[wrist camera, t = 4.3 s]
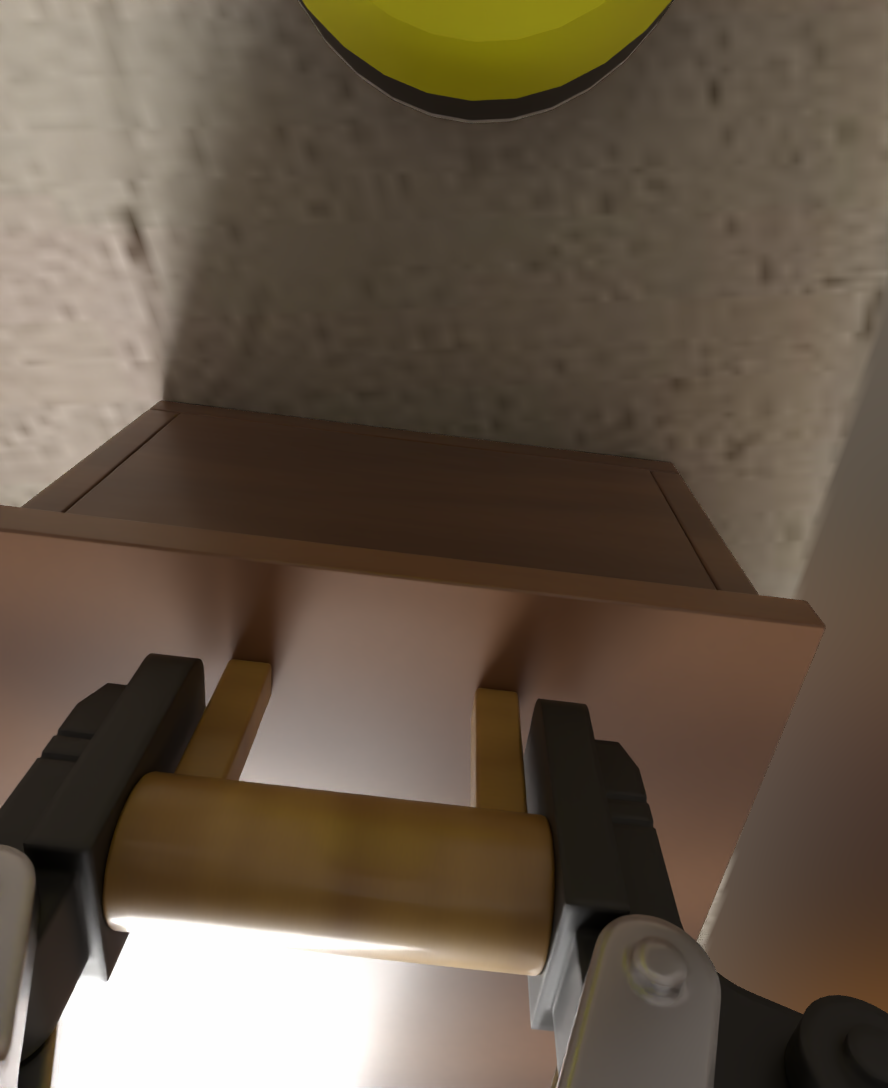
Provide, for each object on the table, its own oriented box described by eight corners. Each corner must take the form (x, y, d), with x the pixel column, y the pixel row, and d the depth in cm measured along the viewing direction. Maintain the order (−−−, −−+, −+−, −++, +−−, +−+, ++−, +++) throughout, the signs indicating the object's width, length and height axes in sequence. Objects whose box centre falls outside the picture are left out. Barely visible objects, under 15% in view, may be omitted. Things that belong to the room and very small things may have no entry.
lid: (-39, 499, 12) (-367, 714, 7) (806, 599, 12) (1012, 869, 8) (74, 1081, 19) (-53, 1370, 15) (597, 1135, 20) (635, 1436, 15)
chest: (160, 399, 20) (-30, 542, 12) (673, 462, 20) (790, 639, 13) (185, 825, 27) (74, 1078, 19) (563, 867, 27) (597, 1133, 20)
